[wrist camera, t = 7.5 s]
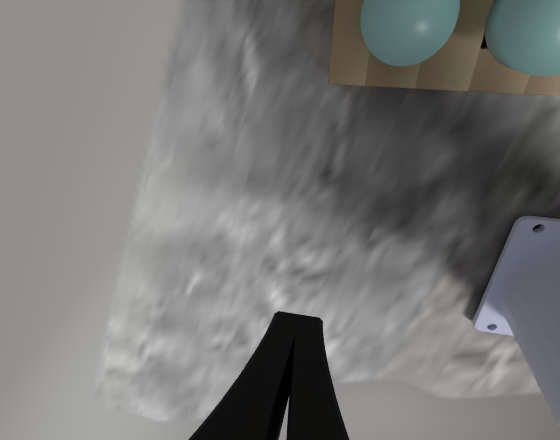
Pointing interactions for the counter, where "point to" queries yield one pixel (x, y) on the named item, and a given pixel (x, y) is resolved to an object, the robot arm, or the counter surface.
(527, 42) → the button
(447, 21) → the button
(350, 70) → the button board
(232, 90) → the counter surface
